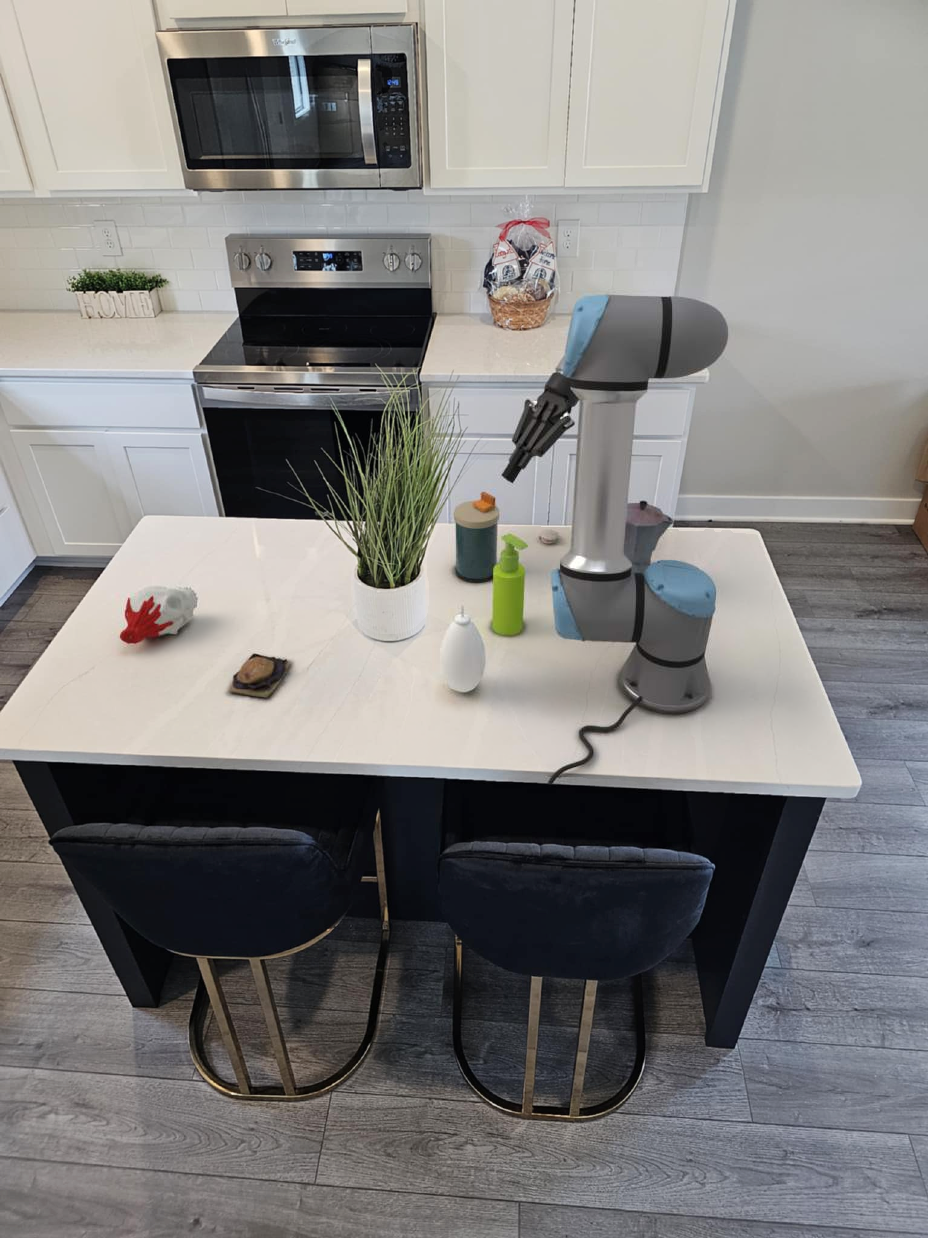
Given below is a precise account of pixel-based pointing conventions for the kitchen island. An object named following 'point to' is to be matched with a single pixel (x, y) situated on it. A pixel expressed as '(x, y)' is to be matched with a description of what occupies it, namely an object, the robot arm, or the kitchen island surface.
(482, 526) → the travel mug
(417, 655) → the kitchen island surface
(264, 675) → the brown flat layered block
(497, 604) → the soap dispenser
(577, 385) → the robot arm
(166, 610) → the white decorated figurine
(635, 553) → the moka pot
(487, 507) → the orange l-shaped block
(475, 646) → the sauce bottle
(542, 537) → the macaroon
